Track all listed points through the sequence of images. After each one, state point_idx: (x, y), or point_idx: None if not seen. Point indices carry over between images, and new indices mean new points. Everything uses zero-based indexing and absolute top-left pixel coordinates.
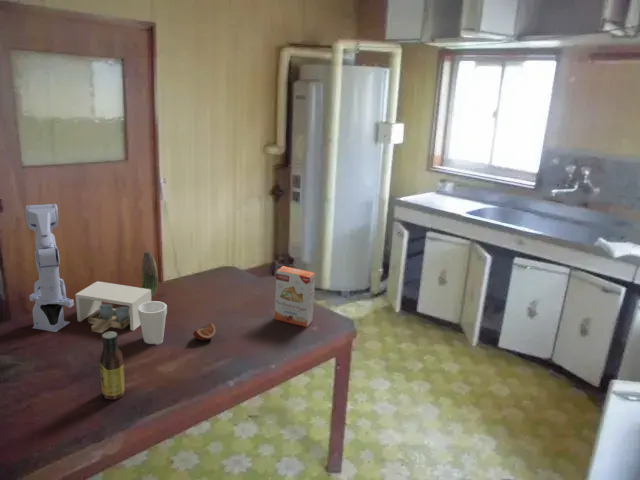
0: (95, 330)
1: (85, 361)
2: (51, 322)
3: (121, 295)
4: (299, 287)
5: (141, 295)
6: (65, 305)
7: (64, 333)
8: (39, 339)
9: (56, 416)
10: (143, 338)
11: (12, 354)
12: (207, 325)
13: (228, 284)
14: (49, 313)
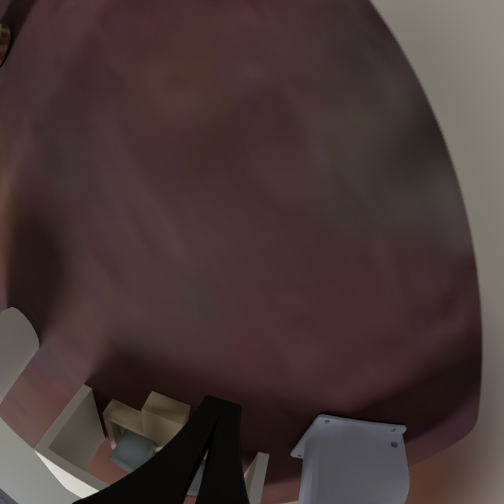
0: (171, 408)
1: (99, 204)
2: (213, 416)
3: None
4: None
5: (55, 475)
6: (2, 495)
7: (286, 410)
8: (370, 376)
9: None
10: (23, 331)
11: (450, 257)
12: None
13: None
14: (176, 496)
